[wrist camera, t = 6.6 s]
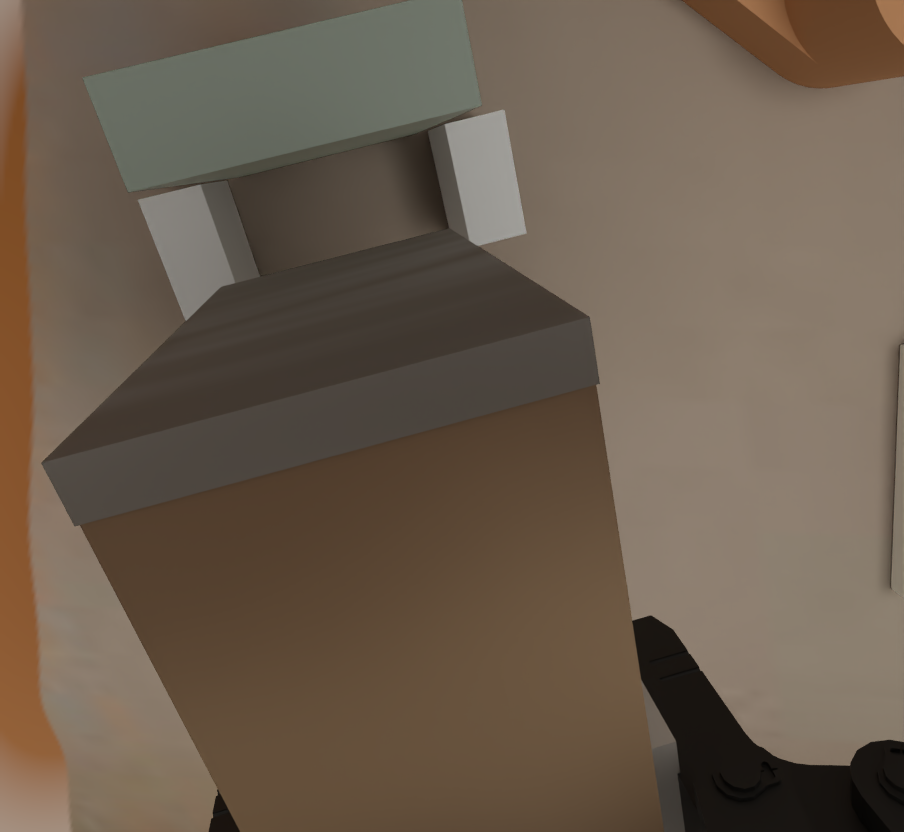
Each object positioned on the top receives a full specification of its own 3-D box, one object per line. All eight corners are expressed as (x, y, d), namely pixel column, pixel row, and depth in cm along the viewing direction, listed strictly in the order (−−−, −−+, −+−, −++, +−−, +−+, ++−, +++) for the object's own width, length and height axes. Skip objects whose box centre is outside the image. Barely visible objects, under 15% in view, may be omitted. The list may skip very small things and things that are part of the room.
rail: (221, 286, 13) (41, 462, 5) (449, 227, 13) (589, 316, 5) (421, 835, 19) (471, 1278, 11) (574, 788, 19) (721, 1191, 12)
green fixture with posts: (155, 138, 25) (-58, 110, 12) (465, 62, 25) (589, -43, 12) (340, 634, 34) (335, 928, 21) (564, 570, 34) (695, 817, 21)
